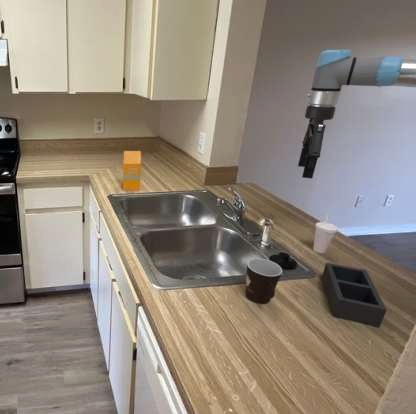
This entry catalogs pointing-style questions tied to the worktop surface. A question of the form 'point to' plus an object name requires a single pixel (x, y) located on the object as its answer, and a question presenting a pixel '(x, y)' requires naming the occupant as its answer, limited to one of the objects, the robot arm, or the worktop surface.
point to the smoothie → (323, 235)
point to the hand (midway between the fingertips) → (304, 171)
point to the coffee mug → (261, 280)
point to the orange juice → (131, 170)
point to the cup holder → (352, 295)
